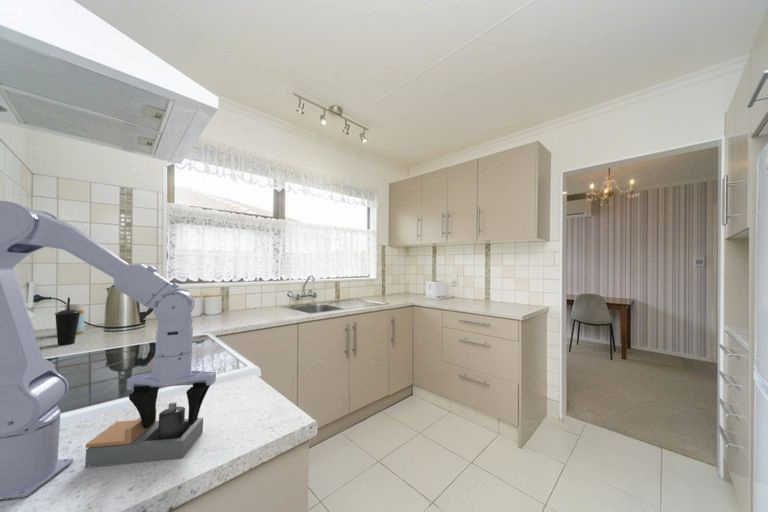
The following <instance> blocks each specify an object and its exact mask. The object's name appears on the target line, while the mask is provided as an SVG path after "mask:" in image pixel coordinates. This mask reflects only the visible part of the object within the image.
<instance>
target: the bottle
mask: <svg viewBox="0 0 768 512" xmlns="http://www.w3.org/2000/svg"><path fill="white" fill-rule="evenodd" d="M69 309H73V310H78V311H81V313H80V316H79V321H78V327H77V332H76V334H77V335H80V333H81V334H82V333H84V326H85V311H84V302H70V308H69ZM64 310H67V303H65V305H64Z"/></svg>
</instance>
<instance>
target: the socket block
mask: <svg viewBox="0 0 768 512" xmlns="http://www.w3.org/2000/svg"><path fill="white" fill-rule="evenodd" d="M158 429H159V420H156V422H155V423H154V424H153V425H152V426H150V427H149V428H148V429H147V430H146V431H145V432H144V433H142V434H141V435H140V436H139V437H138V438H137V439H136V440H134V441H133V442H132V443H131V444H122V445H111V446H100V447H88V448H85V464H84V468H85V467H86V468H89V467H88V466H96V467H102V466H103V465H106V466H113V465H114V466H115V465H124V464H136V463H146V462H157V461H165V460H167V461H168V460H177V459H183V458H184V456H185V455H186V454H188V452H189V450H190V449H191V448H192V447H193V445H194V444H195V443H196V441H197V440H198V439H199V438H200V436H201V435H202V434H203V433H204V417H198V419H197V420H196V422H195V423H194V424H193V425H189V424H188V418H185V421H184V434H183V435H182V437H181V438H176V439H165V440H158ZM103 467H104V466H103Z"/></svg>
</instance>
